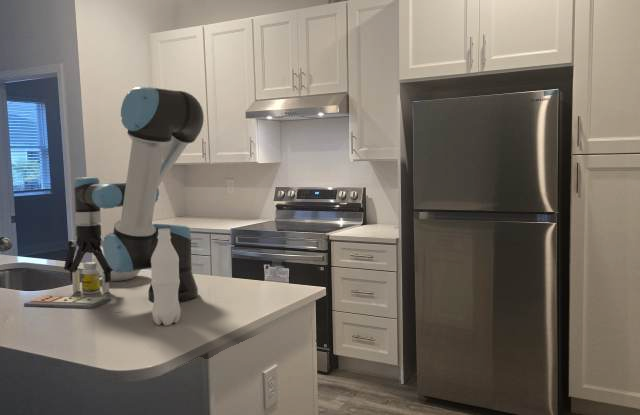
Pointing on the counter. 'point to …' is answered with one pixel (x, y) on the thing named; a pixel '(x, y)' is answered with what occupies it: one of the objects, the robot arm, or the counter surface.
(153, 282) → the water bottle
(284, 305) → the counter surface
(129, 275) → the vase
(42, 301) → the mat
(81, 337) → the counter surface
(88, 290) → the supplement bottle
